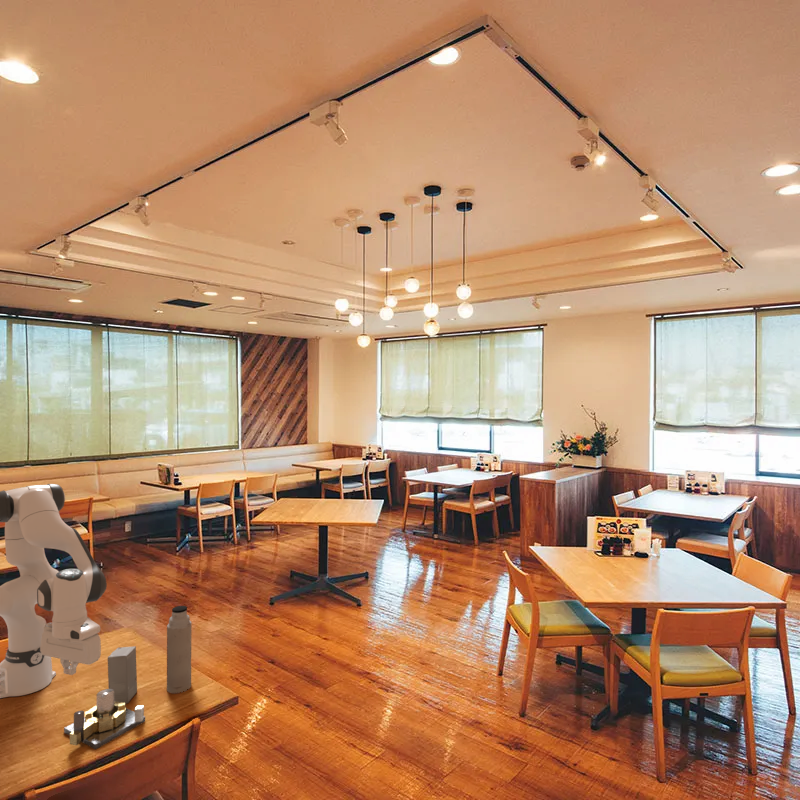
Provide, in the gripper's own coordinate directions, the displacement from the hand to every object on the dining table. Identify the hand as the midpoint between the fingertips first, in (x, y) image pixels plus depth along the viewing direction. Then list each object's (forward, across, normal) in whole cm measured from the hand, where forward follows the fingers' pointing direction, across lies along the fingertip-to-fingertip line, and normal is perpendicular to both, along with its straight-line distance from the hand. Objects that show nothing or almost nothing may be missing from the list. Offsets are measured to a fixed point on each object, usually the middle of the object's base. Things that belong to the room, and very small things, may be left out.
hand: (69, 673), depth 162 cm
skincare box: (+21, -5, +24) cm, 32 cm away
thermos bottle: (+21, +8, +36) cm, 42 cm away
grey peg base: (+20, +3, +10) cm, 23 cm away
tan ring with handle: (+19, +3, +6) cm, 20 cm away
